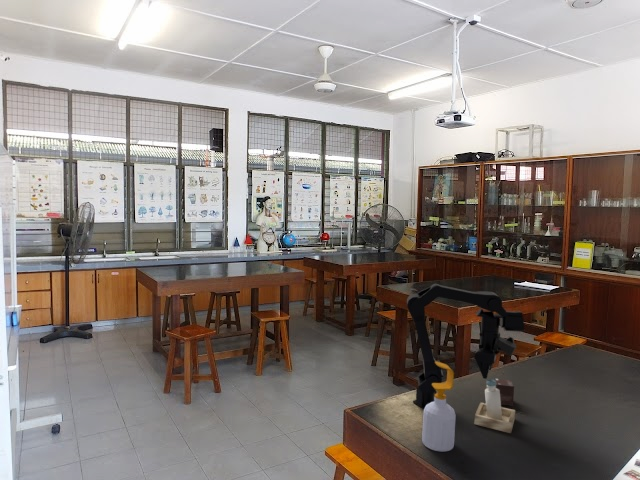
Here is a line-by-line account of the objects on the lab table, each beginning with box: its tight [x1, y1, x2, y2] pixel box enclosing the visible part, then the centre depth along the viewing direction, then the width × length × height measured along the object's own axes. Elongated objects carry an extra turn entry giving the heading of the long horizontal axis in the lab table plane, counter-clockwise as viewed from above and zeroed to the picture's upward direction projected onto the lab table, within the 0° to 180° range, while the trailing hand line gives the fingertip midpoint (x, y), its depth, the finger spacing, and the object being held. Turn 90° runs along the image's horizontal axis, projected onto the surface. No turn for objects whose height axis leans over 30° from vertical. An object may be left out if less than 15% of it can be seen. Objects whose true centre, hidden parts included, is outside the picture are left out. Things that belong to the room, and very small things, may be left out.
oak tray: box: [473, 402, 516, 434], centre depth 148 cm, size 11×11×3 cm
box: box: [493, 378, 515, 407], centre depth 163 cm, size 6×6×7 cm
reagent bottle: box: [484, 379, 502, 420], centre depth 148 cm, size 5×5×12 cm
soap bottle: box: [421, 360, 457, 453], centre depth 132 cm, size 9×9×25 cm
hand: (487, 374), depth 154 cm, fingers open, 9 cm apart
